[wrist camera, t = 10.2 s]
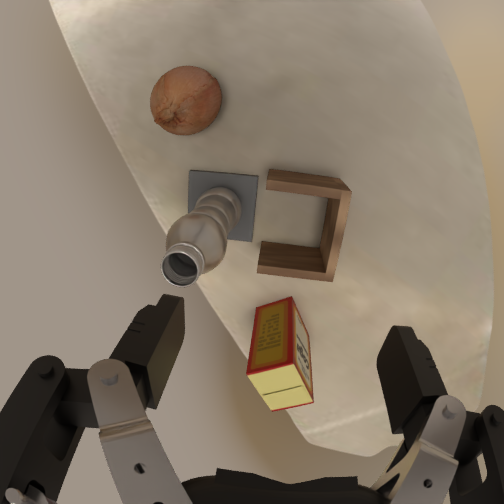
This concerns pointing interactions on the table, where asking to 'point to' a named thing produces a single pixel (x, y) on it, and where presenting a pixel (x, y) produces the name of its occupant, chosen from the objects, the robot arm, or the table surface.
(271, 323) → the baking soda box
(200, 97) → the onion
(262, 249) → the walnut rack
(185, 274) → the plastic bottle
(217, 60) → the table surface
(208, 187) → the rubber mat
